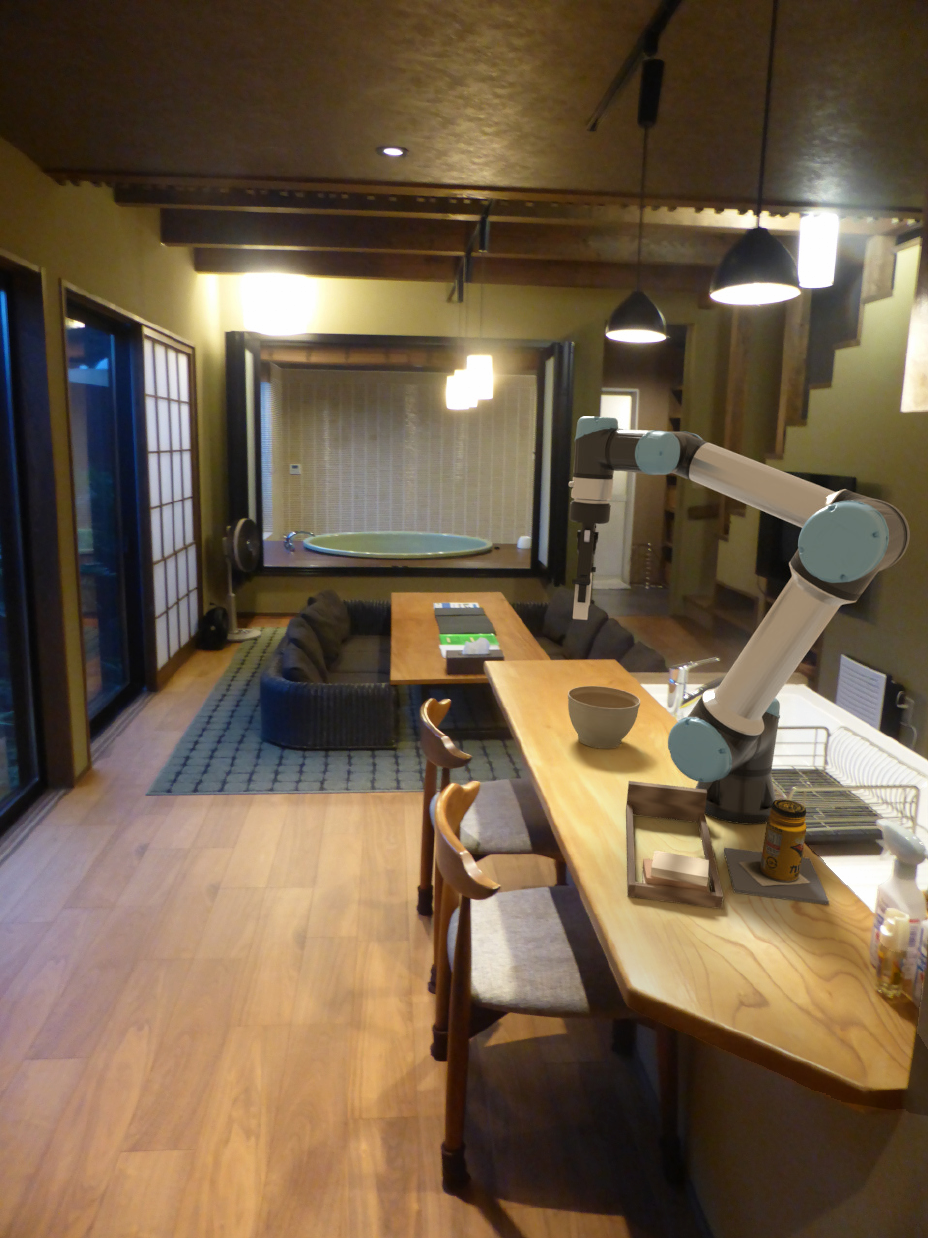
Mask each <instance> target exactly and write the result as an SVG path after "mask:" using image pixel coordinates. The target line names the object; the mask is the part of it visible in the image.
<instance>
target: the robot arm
mask: <svg viewBox="0 0 928 1238" xmlns="http://www.w3.org/2000/svg"><path fill="white" fill-rule="evenodd" d="M572 472H573V473H572V481H569V482H568V487H570V488H572V489H571V492H570V493H571V494H570V497H571V498H572V499H573V500H571V502H570V505H569V515H568V519H569V520H570V521H571V522H573V523H581V528H582V529H580V530H577V533H576V542H577V547H576V553H577V554H578V556H577V557H578V558H577V568H576V577H575V579H574V578H573V579H571V585H574V598H573V611H572V612H573V613H572V619H573V620H582V621H584V620H585V621H588V618H589V606H590V605H591V597H592V596H591V595H592V594H591V593H592V583H593V581H592V579H593V573H596V571H597V566H594V555H595V554H596V550H597V543H598V542H599V541H598V540H599V531H596V528H597V525H604V524H608V523H610V517H611V516H610V515H611V505H610V502H609V501H611V500H612V497H613V488H614V486H613V485H614V473H615V472H624V473H625V472H628V473H635V474H645V475H648V476H659V475H661V476H664V475H669V474H674V475H677V476H680V477H681V478H684V479H686V480H689V481H692V482H694V483H696V484H699V485H701V486H704V487H706V488H708V489H710V490H713V491H715V492H718V493H720V494H722V495H724V496H727V497H729V498H731V499H734V500H736V501H739V502H741V503H743V504H746V505H748V506H750V507H752V508H754V509H757V510H759V511H762V512H765V513H766V514H769V515H771V516H774V517H776V518H778V519H781V520H783V521H785V522H788V523H790V524H792V525H795V526H796V527H799V528H801V531H800V532H799V536H798V542H797V547H798V548H797V550H796V551H795V553H794V555H793V556H792V558H791V559H790V560H789V562H788V566H789V569H790V573H791V577H790V579H789V580H788V582H787V583H786V584H785V586H784V587H783V589H782V591H781V592H780V593H779V595H778V596H777V599H776V600H775V601H774V602H773V604H772V606H771V607H770V609H769V610H768V612H767V613H766V614H765V617H763V619H762V621H761V622H760V624H759V625H758V627H757V628H756V630H755V631H754V633H753V634H752V635H751V637H750V638H749V640H748V642H747V644H746V645H745V646H744V648H742V651H741V652H740V654H739V655H738V657H737V658H736V660H735V661H734V662H733V665H732V666H731V667H730V668H729V670H728V672H727V673H726V675H725V676H724V677H723V678H722V681H721V683H720V684H719V685H718V687H716V688H709V689H706V690H705V691H704V692H703V693H702V695H701V697H700V698H699V700H698V701H697V702H696V703H695V705H694V706H693V708H692V710H691V711H690V713H689V714H688V715H687V716H686V717H683V718H681V719H679V720H678V721H677V722H676V723H675V724H674V725H672V728H671V729H670V731H669V733H668V738H667V749H668V751H669V754H670V759H671V761H672V763H673V764H674V765H675V767H676V768H677V770H678V771H679V772H681V773H682V774H683V775H684V776H685V777H686V778H689V779H691V780H692V781H695V782H697V784H696V786H695V788H696V789H705V790H707V798H706V806H705V815H707V816H710V817H713V818H714V819H718V820H721V821H726V822H727V823H728V822H729V823H734V824H743V825H760V824H766V821H767V818H768V816H769V815H770V811H771V805H772V803H773V802H774V801H775V800H777V797H776V793H775V787H774V784H773V779H772V778H773V777H772V771H773V764H774V763H773V762H774V757H775V756H774V755H775V750H776V749H775V748H776V741H777V735H778V728H779V727H778V726H779V721H780V719H781V714H780V712H781V711H780V710H781V709H780V708H781V703H780V701H779V700H778V699H777V698H776V697H777V696H778V695H779V693H780V691H782V689H783V687H784V686H785V685H786V683H788V681H789V679H790V677H791V676H792V674H793V673H794V672H795V671H796V669H797V668H798V666H799V665H800V663H802V661H803V659H804V658H805V656H806V655H807V653H808V652H809V651H810V649H811V648H812V647H813V645H814V644H815V643H816V641H817V640H818V638H819V637H820V635H821V634H822V632H823V631H824V630H825V629H826V627H827V626H828V625H829V623H830V621H831V620H832V619H833V617H834V616H835V614H836V613H837V612H838V610H839V608H840V607H841V606H842V605H847V604H853V603H854V604H855V603H856V602H857V601H858V600H859V599H860V597H861V595H862V594H863V593H864V591H865V590H866V589H867V587H868V586H869V584H870V583H871V582H872V580H873V579H874V578H875V576H876V575H877V574H878V572H881V571H883V570H886V569H889V568H890V567H892V566H894V565H895V564H897V562H898V561H900V560H901V559H902V557H903V556H904V554H905V553H906V551H907V548H908V547H909V543H910V537H911V536H910V535H911V533H910V532H911V531H910V526H909V523H908V520H907V519H906V517H905V515H904V514H903V512H901V510H899V508H897V507H896V506H895V505H893V504H891V503H889V502H887V501H884V500H880V499H877V498H872V497H870V496H866V495H864V494H863V495H862V494H860V493H857V492H853V491H851V490H849V489H846V488H844V489H840V490H839V491H834V490H831V489H829V488H826V487H823V486H821V485H819V484H816V483H814V482H811V481H808V480H806V479H802V478H800V477H798V476H795V475H792V474H791V473H787V472H785V471H782V470H780V469H777V468H775V467H772V466H770V465H767V464H764V463H762V462H759V461H757V460H755V459H752V458H749V457H747V456H745V455H742V454H740V453H739V454H738V453H736V452H734V451H733V450H732V451H731V450H729V449H727V448H724V447H721V446H718V445H717V444H713V443H711V442H708V441H705V440H704V439H703V438H702V437H701V436H699V435H698V434H696V433H692V432H689V431H663V430H655V429H654V430H653V429H652V430H647V429H646V430H645V429H623V428H619V422H618V419H617V418H616V417H610V416H609V417H607V416H584V415H583V416H581V417H580V418H579V419H578V420H577V424H576V432H575V438H574V457H573V471H572Z"/></svg>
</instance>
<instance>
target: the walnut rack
mask: <svg viewBox="0 0 928 1238" xmlns="http://www.w3.org/2000/svg"><path fill="white" fill-rule="evenodd" d="M626 795H627V796H626V804H625V833H626V834H625V836H626V837H625V839H626V847H625V848H626V882H627V883H626V885H627V887H626V889H627V892H626V893H627V897H630V898H639V899H645V900H654V901H660V902H661V901H662V902H669V903H677V904H684V905H692V906H700V907H704V908H706V907H707V908H713V909H723V902H724V893H723V890H722V885H721V880H720V876H719V872H718V866H717V863H716V858H715V854H714V849H713V844H712V839H711V836H710V832H709V827H708V822H707V818H706V813H705V806H706V798H707V790H705V789H696V787H686V786H685V787H684V786H676V785H667V784H659V783H650V782H643V781H634V780H628V784H627V794H626ZM634 816H640V817H647V818H654V819H655V818H656V819H664V820H672V821H680V822H688V823H695V824H696V823H697V826H698V830H699V836H700V841H701V840H702V841H701V845H702V851H703V855H705V856H704V859H706V860H709V868H708V882H709V887H710V890H711V891H710V892H708V891H701V890H693V889H685V888H678V887H670V886H663V885H655V884H647V883H643V882H638V881H636V868H635V867H636V866H635V865H636V864H635V839H634V837H635V836H634Z"/></svg>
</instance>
